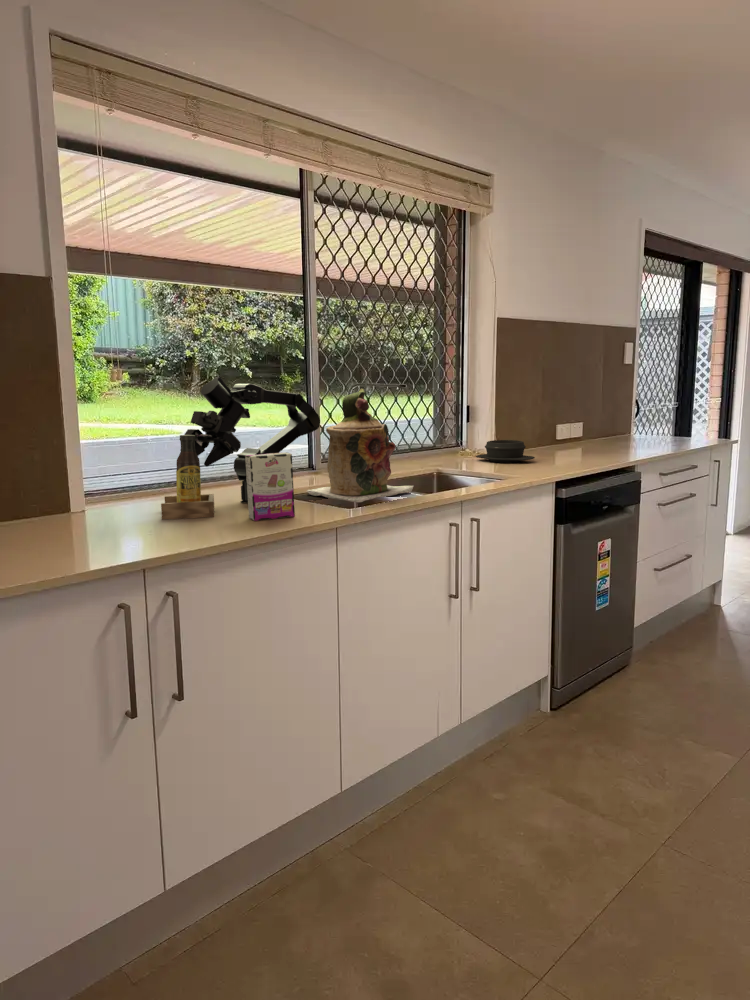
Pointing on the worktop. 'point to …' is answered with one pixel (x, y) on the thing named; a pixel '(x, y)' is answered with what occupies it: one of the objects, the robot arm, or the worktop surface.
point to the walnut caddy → (188, 508)
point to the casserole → (505, 451)
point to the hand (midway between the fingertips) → (195, 464)
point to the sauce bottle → (188, 471)
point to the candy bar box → (270, 486)
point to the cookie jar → (359, 455)
